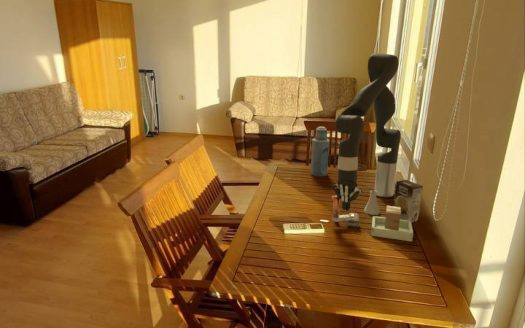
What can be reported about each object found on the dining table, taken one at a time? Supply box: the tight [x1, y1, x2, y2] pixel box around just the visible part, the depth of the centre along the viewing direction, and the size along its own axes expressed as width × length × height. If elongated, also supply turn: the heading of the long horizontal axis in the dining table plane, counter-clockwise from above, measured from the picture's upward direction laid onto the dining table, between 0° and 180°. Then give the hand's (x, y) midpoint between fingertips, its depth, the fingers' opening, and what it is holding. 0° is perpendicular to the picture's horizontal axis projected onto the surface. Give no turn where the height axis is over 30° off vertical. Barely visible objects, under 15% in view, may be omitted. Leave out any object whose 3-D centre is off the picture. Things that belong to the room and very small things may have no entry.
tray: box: [370, 215, 414, 242], centre depth 145 cm, size 12×15×3 cm
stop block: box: [385, 205, 401, 230], centre depth 144 cm, size 5×5×9 cm
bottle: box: [310, 126, 330, 178], centre depth 208 cm, size 10×10×30 cm
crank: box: [331, 195, 360, 223], centre depth 148 cm, size 12×4×11 cm, turn 103°
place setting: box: [358, 157, 366, 171], centre depth 225 cm, size 18×20×6 cm
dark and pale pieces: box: [319, 219, 360, 229], centre depth 152 cm, size 6×16×5 cm, turn 72°
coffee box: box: [393, 179, 424, 223], centre depth 156 cm, size 9×6×16 cm
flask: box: [363, 190, 381, 216], centre depth 163 cm, size 7×7×10 cm
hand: (345, 210), depth 143 cm, fingers closed
